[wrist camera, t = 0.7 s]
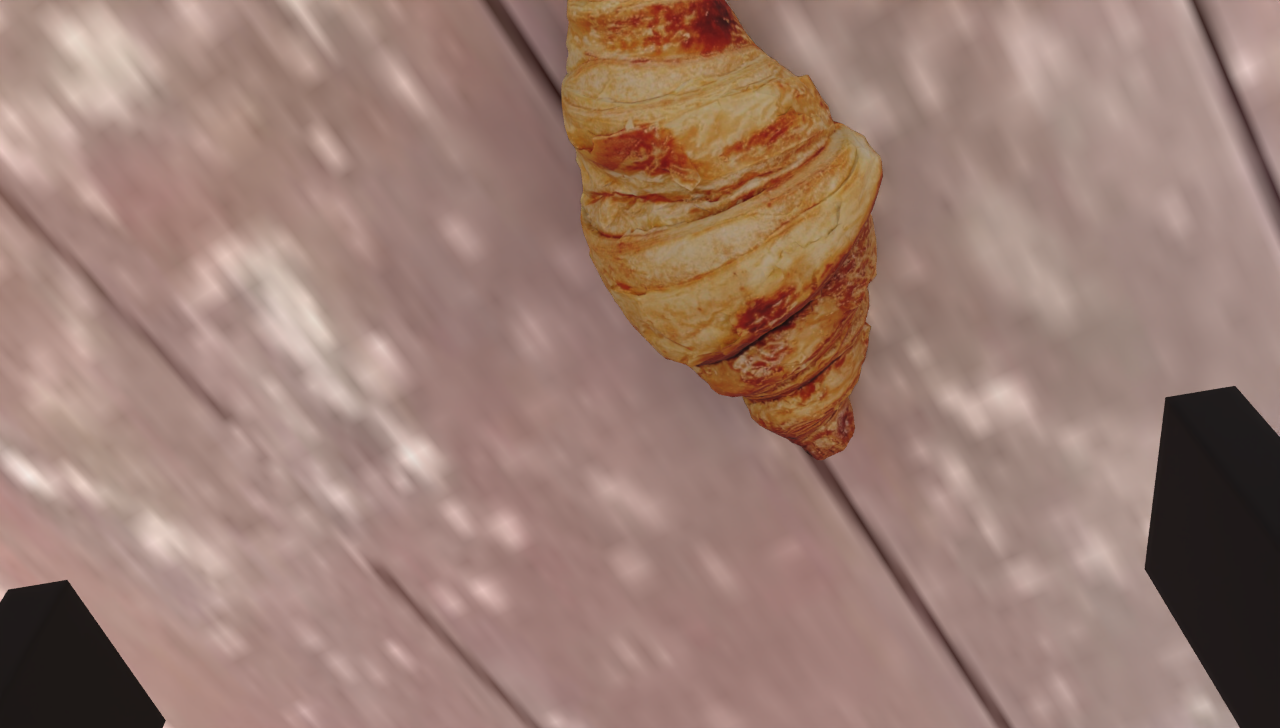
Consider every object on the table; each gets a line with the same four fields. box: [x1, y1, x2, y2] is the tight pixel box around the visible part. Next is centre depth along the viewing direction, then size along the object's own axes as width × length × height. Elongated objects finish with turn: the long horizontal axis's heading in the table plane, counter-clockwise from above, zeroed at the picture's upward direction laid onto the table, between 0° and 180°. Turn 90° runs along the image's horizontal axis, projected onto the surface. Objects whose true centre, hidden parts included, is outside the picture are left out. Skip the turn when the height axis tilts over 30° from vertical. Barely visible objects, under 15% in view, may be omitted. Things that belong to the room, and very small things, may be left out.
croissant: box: [561, 0, 883, 460], centre depth 36 cm, size 21×10×8 cm, turn 26°
